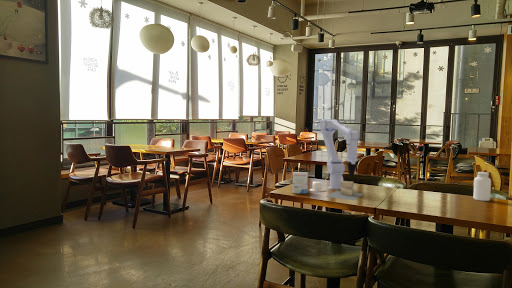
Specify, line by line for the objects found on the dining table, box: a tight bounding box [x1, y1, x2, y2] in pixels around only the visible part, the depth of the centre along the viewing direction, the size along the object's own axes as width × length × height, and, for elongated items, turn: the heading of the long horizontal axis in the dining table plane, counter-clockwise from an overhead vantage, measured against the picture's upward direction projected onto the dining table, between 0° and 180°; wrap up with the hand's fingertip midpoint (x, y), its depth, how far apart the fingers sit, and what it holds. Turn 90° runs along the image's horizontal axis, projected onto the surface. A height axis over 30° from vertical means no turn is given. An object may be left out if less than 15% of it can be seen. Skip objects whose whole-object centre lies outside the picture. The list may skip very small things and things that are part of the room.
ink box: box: [292, 171, 309, 195], centre depth 223 cm, size 9×5×12 cm, turn 84°
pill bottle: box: [472, 171, 492, 202], centre depth 212 cm, size 8×8×15 cm
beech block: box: [340, 180, 355, 195], centre depth 219 cm, size 4×6×7 cm, turn 60°
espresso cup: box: [309, 181, 325, 192], centre depth 231 cm, size 9×9×5 cm
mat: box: [324, 190, 364, 201], centre depth 216 cm, size 20×16×1 cm
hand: (351, 175), depth 224 cm, fingers open, 3 cm apart
